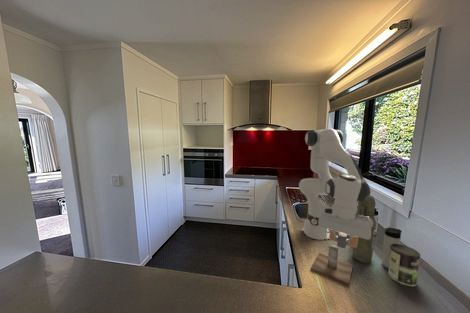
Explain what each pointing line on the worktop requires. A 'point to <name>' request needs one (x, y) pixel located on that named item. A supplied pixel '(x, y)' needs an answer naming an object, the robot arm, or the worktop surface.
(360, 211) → the thermos
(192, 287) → the worktop surface
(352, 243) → the collar
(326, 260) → the post base
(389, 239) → the travel mug
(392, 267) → the coffee can
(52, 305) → the worktop surface
